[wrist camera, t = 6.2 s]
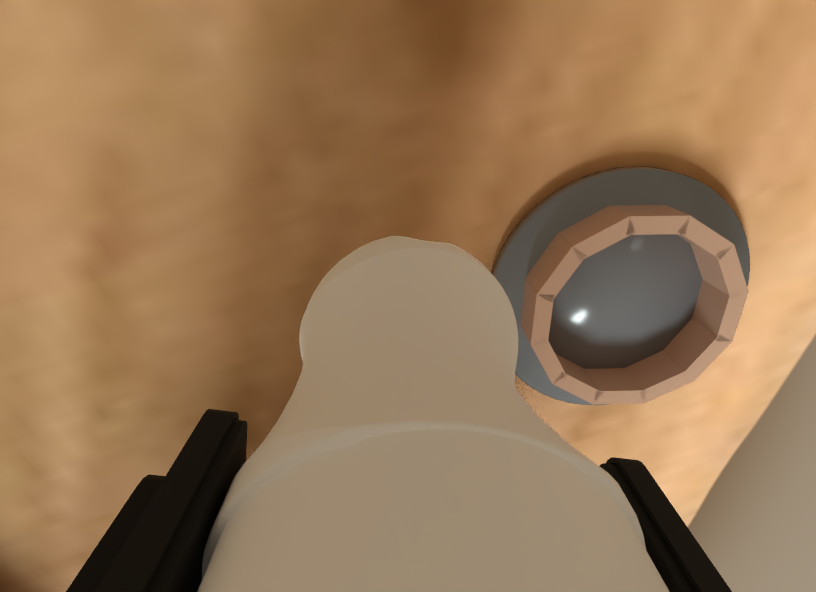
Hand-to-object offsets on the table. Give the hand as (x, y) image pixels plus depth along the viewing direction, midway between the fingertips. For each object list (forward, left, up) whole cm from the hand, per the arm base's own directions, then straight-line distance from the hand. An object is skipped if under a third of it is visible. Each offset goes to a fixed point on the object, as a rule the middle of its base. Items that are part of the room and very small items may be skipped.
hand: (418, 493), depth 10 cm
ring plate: (-11, -9, -20) cm, 24 cm away
